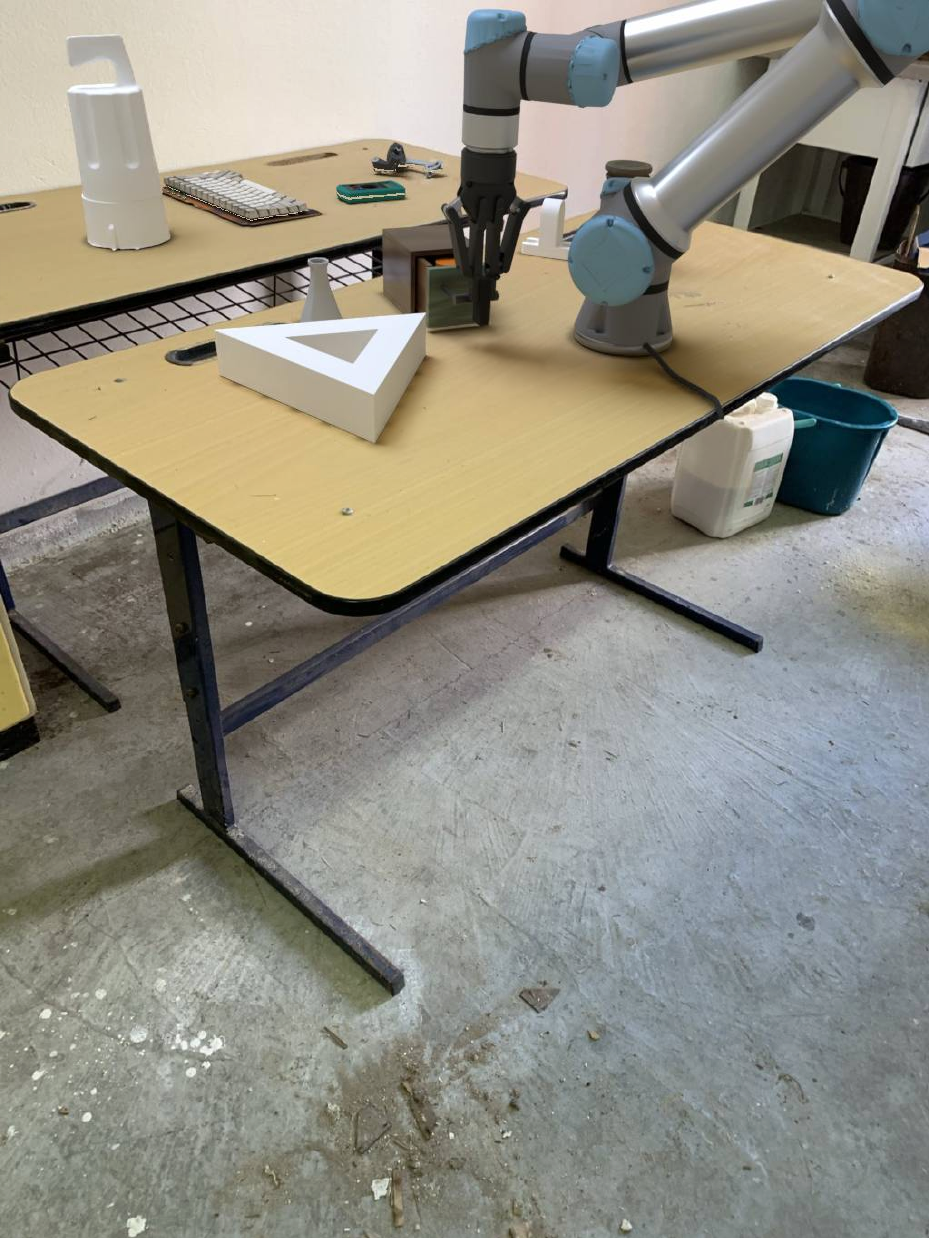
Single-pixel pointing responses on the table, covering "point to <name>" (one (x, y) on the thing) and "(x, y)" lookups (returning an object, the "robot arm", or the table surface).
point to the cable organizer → (549, 232)
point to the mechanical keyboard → (235, 197)
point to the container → (627, 169)
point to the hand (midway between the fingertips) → (480, 322)
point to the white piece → (115, 151)
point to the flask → (319, 294)
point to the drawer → (442, 292)
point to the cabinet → (410, 259)
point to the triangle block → (329, 366)
